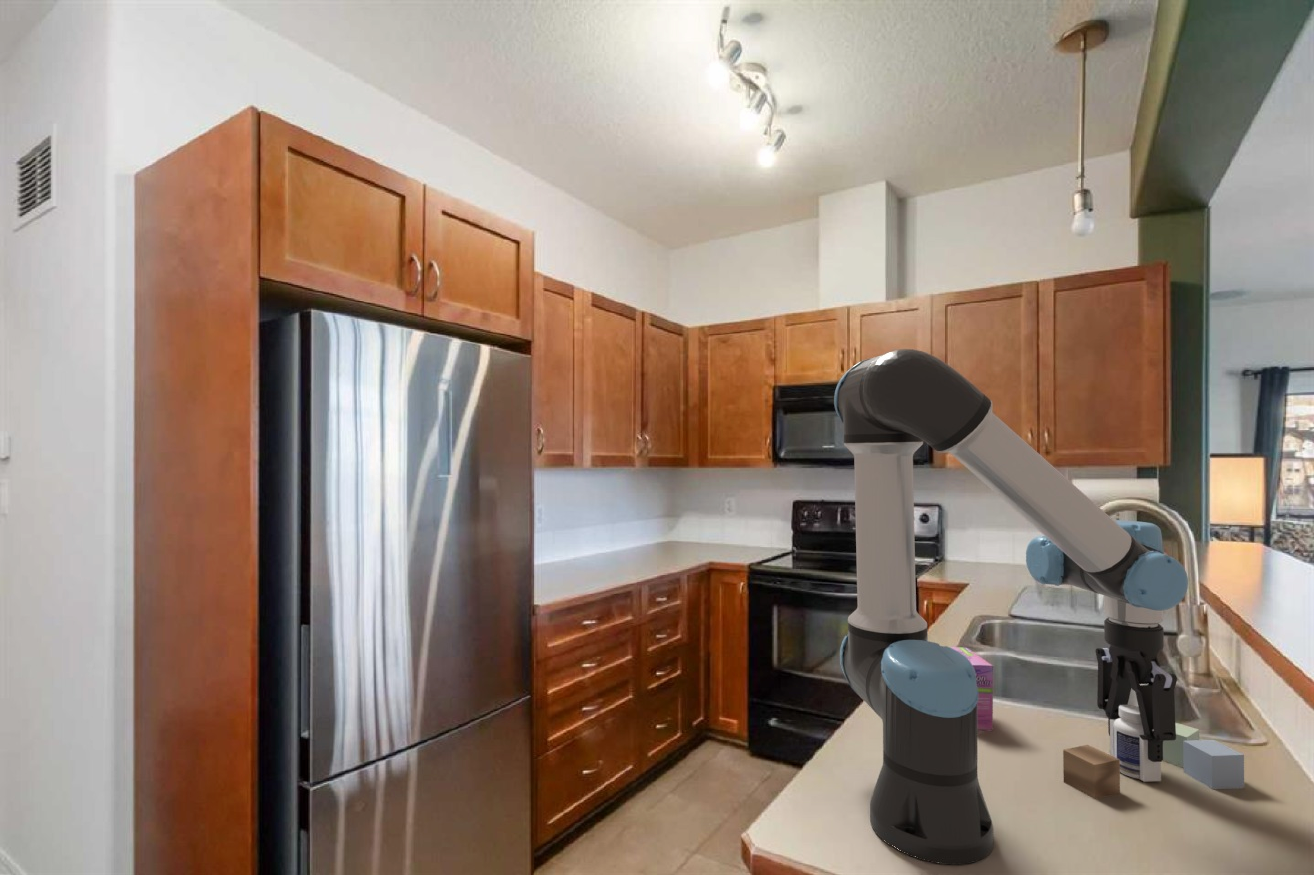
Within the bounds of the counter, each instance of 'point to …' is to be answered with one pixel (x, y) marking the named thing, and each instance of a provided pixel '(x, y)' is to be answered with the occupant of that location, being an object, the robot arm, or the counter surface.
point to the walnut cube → (1091, 771)
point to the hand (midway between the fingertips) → (1134, 769)
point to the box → (982, 688)
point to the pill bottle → (1128, 740)
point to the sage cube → (1178, 744)
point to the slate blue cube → (1213, 764)
